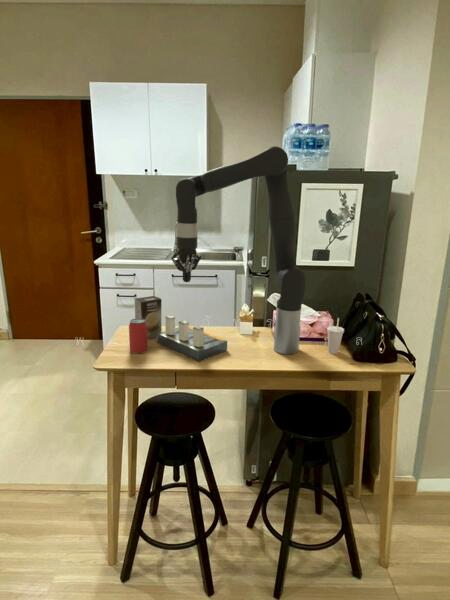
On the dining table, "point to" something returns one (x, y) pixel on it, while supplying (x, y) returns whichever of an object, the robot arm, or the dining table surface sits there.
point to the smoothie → (334, 338)
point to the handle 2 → (198, 336)
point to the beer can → (138, 335)
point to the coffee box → (149, 314)
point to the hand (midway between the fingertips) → (186, 281)
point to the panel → (187, 348)
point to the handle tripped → (183, 330)
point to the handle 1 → (170, 325)
